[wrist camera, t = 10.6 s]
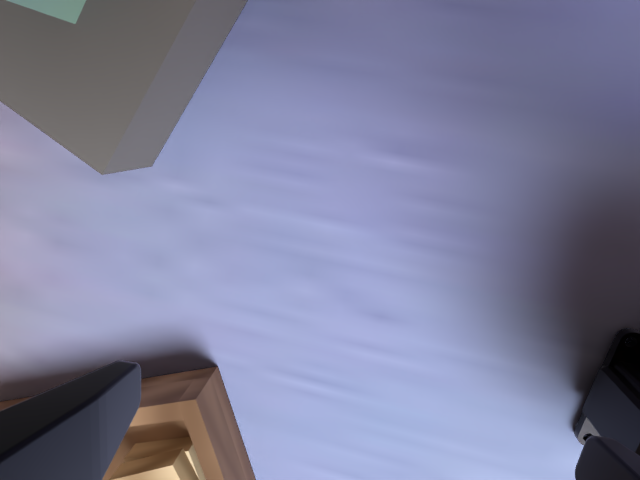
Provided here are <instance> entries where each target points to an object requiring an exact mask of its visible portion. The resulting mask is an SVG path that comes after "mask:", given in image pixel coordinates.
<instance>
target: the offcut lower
mask: <svg viewBox="0 0 640 480" xmlns="http://www.w3.org/2000/svg"><path fill="white" fill-rule="evenodd" d="M181 448H183V449H184V451H185V453H186V455H187V457H188V459H189V461H190V463H191V465H192V467H193V469H194V471H195V473H196V474H197V476H198V478H199V480H206V478H205V476H204V473H203V470H202V468H201V465H200V462H199V459H198V457H197V454H196V451H195V448H194V446H193V443H192V440H191V438H190V437H182V438H174V439H167V440H159V441H151V442H144V443H136V444H135V445H134V446H133V447H132V449H131V450H130V451H129V453H128V454H127V455H126V456H125V458H124V462H129V461H133V460H137V459H141V458H145V457H149V456H153V455H157V454H161V453H165V452H169V451H173V450H177V449H181Z"/></svg>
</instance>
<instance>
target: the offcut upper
mask: <svg viewBox="0 0 640 480" xmlns="http://www.w3.org/2000/svg"><path fill="white" fill-rule="evenodd" d="M109 480H199V478H198V476H197V474H196V473H195V471H194V469H193V467H192V465H191V463H190V461H189V459H188V457H187V455H186V453H185V451H184V449H183V448H181V449H177V450H173V451H169V452H165V453H161V454H157V455H153V456H149V457H145V458H141V459H137V460H133V461H129V462H125V463H121V465H120V466H119V467H118V469H117V470H116V471H115V473H114V474H113V475H112V477H111V478H110V479H109Z"/></svg>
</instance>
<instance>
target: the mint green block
mask: <svg viewBox="0 0 640 480" xmlns="http://www.w3.org/2000/svg"><path fill="white" fill-rule="evenodd" d="M7 1H10V2H13V3H15V4H18V5H21V6H24V7H27V8H30V9H33V10H36V11H38V12H41V13H44V14H47V15H50V16H53V17H56V18H59V19H62V20H64V21H67V22H70V23H73V24H76V22H77V19H78V17H79V15H80V13H81V11H82V8H83V6H84V4H85V2H86V0H7Z"/></svg>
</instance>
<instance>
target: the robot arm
mask: <svg viewBox="0 0 640 480" xmlns="http://www.w3.org/2000/svg"><path fill="white" fill-rule="evenodd" d="M630 337H632V340H631V341H630V342H628V343H625V342H626V340H627V339H628V338H630ZM140 401H141V367H140V365H139V364H138V363H135V362H128V361H122V360H120V361H116V362H114V363H112V364H109V365H107V366H105V367H102V368H100V369H98V370H95V371H93V372H90V373H88V374H86V375H83V376H81V377H79V378H76V379H74V380H72V381H69V382H67V383H65V384H62V385H60V386H58V387H55V388H53V389H50V390H48V391H46V392H43V393H41V394H39V395H36V396H34V397H32V398H29V399H27V400H25V401H22V402H20V403H17V404H15V405H13V406H10V407H8V408H6V409H3V410H1V411H0V480H102V479H103V477H104V475H105V473H106V471H107V469H108V468H109V466H110V464H111V462H112V460H113V458H114V456H115V454H116V452H117V450H118V448H119V446H120V444H121V442H122V440H123V438H124V436H125V434H126V432H127V430H128V428H129V426H130V424H131V422H132V420H133V418H134V416H135V414H136V412H137V410H138V408H139V405H140ZM582 411H583V412H582V414H581V417H580V419H579V421H578V424H577V426H576V428H575V432H574V434H575V436H576V438H577V439H578V441H579V442H580V443H581V444H582V445H584V447H583V450H582V452H581V455H580V457H579V460H578V463H577V465H576V469H575V478H576V480H640V331H638V330H634V329H623V330H621V331H619V332H618V333H617V334H616V336H615V338H614V341H613V343H612V345H611V348H610V350H609V352H608V355H607V357H606V359H605V361H604V364H603V366H602V368H600V369H599V371H598V374H597V376H596V378H595V381H594V383H593V385H592V388H591V390H590V392H589V395H588V397H587V399H586V401H585V404H584V406H583V409H582ZM587 433H590V434H589V435H588V436H584V435H585V434H587Z"/></svg>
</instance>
